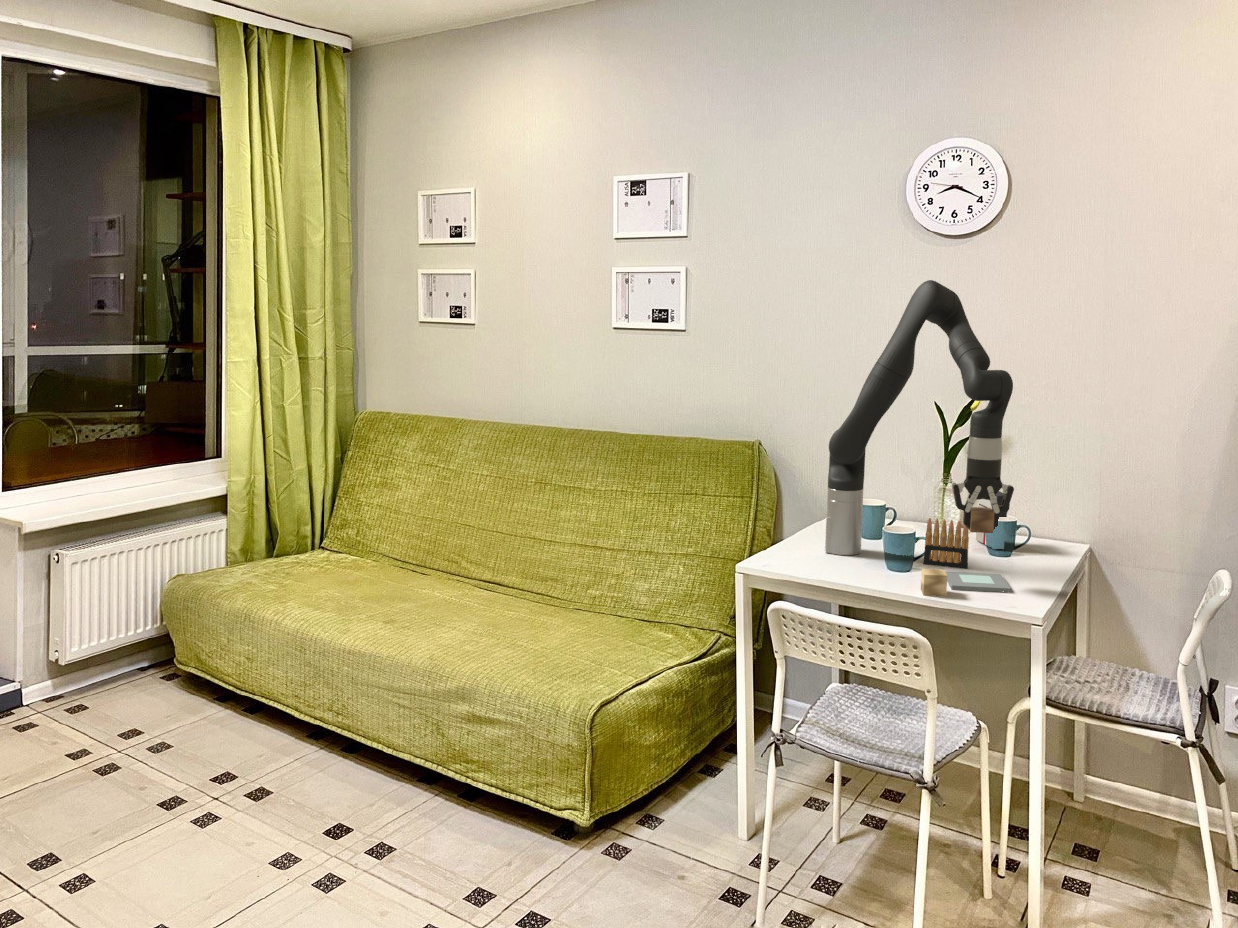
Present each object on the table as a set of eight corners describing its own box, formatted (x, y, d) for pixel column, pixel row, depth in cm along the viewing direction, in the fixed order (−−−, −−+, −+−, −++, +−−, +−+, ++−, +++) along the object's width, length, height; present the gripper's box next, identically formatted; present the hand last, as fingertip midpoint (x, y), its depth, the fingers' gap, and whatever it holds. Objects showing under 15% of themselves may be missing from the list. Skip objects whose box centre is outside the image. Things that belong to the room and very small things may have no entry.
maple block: (923, 595, 230) (924, 574, 229) (920, 589, 235) (921, 568, 234) (946, 596, 229) (947, 575, 228) (943, 590, 234) (944, 569, 233)
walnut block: (970, 532, 236) (971, 511, 235) (967, 527, 241) (968, 506, 240) (993, 533, 235) (994, 511, 234) (989, 528, 240) (990, 507, 239)
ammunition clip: (968, 567, 255) (970, 520, 253) (967, 569, 253) (969, 522, 251) (924, 562, 259) (926, 516, 257) (923, 564, 258) (925, 518, 256)
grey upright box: (974, 541, 283) (977, 488, 281) (988, 540, 283) (992, 488, 281) (991, 550, 272) (994, 495, 270) (1006, 550, 273) (1010, 495, 270)
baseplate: (951, 589, 235) (951, 585, 234) (944, 575, 247) (944, 570, 247) (1010, 592, 232) (1010, 587, 232) (1000, 577, 245) (1000, 573, 245)
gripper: (954, 457, 233) (950, 530, 235) (1020, 459, 230) (1015, 532, 233) (950, 453, 240) (946, 523, 243) (1013, 454, 237) (1009, 525, 240)
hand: (980, 527), depth 238 cm, fingers closed on walnut block, 5 cm apart
